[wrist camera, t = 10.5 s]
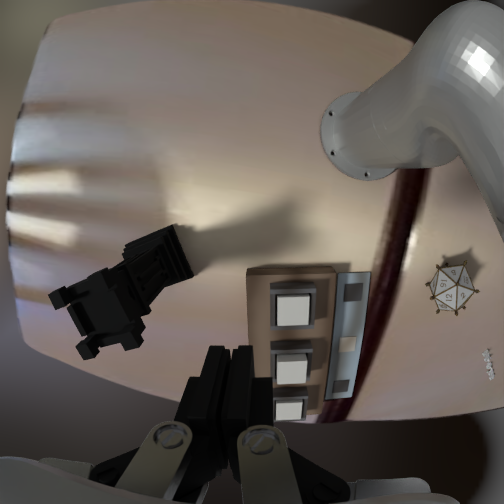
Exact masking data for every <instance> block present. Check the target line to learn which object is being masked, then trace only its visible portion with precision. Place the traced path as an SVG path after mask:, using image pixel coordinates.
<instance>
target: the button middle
mask: <svg viewBox="0 0 504 504" xmlns="http://www.w3.org/2000/svg"><path fill="white" fill-rule="evenodd" d="M306 371H307V357H306V353H286V354H277V384H298V383H306Z"/></svg>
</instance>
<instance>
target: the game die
mask: <svg viewBox="0 0 504 504" xmlns="http://www.w3.org/2000/svg"><path fill="white" fill-rule="evenodd" d="M466 263H467V260H466V261H464V264H463V265H455V266H448V263H446V264H445V265H446V267H442V268H440V267H439V265H437V264H436V268H437V269H438V271H437V273H436V274H435V276H434V278H433V280H432V281H431V283H430V284H429V283H426V284H425V285H426V286H430V289H431V292H432V294H433V296H432V297H430V299H431V300H432V299H434V300H435V302H436V304H437V307H438V310H437V311H436V314H438V313H439V312H440V310H446V311H455V315H456V316H457V315H458V312H457V311H458V310H459V309H460V308H463V309H465V308H466V307H465V306H464V305H465V304H466V302H467V301H468V300H469V299H470V297H471V296H472V295H473V293H474V292H476V293H478V292H480V291H479V290H477V289H476V290H475V289H474V286H473V284H472V281H471V278H470V276H469V274H468V272H467V269H466V267H465V265H466Z"/></svg>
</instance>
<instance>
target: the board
mask: <svg viewBox="0 0 504 504" xmlns="http://www.w3.org/2000/svg"><path fill="white" fill-rule="evenodd" d="M369 281H370V272H353V273H338V277H337V293H336V306H335V318H334V329H333V339H332V348H331V357H330V365H329V373H328V380H327V387H326V394H325V400H326V399H336V398H345V397H352V392H353V388H354V383H355V378H356V373H357V367H358V362H359V356H360V350H361V344H362V338H363V331H364V324H365V316H366V309H367V300H368V291H369ZM335 286H336V272H335V271H334V269H333V268H332V267H301V268H258V269H247V272H246V291H247V315H248V339H249V345H253V354H254V368H255V377H273V413H274V422H286V421H304V420H306V415H312V414H321V412H322V406H323V399H324V393H325V386H326V378H327V370H328V362H329V354H330V345H331V335H332V324H333V313H334V300H335ZM296 293H308V294H309V296H310V298H309V320H308V325H290V326H278V325H277V294H296ZM286 353H306V357H307V371H306V383H298V384H277V354H286ZM295 399H302V412H301V419H295V420H276V400H295Z"/></svg>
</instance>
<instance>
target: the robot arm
mask: <svg viewBox="0 0 504 504" xmlns="http://www.w3.org/2000/svg"><path fill="white" fill-rule="evenodd" d="M329 113H331V114H332V116H330V115H329ZM320 136H321V143H322V146H323V149H324V151H325V153H326V155H327V157H328V159H329V160H330V161H331V162H332V164H333V165H334V166H335V167H336V168H337V169H338V170H340V171H341V172H342V173H344V174H346V175H347V176H350V177H352V178H355V179H359V180H366V181H370V180H378V179H381V178H384V177H386V176H387V175H389V174H391V173H392V172H393V171H394V170H395V169H396V168H432V167H439V166H443V165H445V164H447V163H449V162H451V161H452V160H454V159H455V158H456V157H457V156H458V155H459V156H460V157H461V159H462V160H463V162H464V164H465V166H466V167H467V169H468V171H469V173H470V174H471V176H472V177H473V179H474V180H475V182H476V184H477V186H478V188H479V190H480V192H481V194H482V196H483V198H484V200H485V202H486V205H487V207H488V209H489V211H490V213H491V216H492V218H493V220H494V222H495V224H496V227H497V229H498V231H499V234H500V236H501V238H502V240H503V242H504V10H502V9H501V8H499V7H497V6H495V5H493V4H491V3H488V2H484V1H476V0H471V1H465V2H460V3H458V4H456V5H454V6H451V7H450V8H448V9H447V10H446V11H444V12H443V13H441V14H440V15H439V16H438V17H437V18H436V19H435V20H434V21H433V22H432V23H431V24H430V25H429V26H428V27H427V28H426V30H425V31H424V32H423V34H422V36H421V37H420V38H419V40H418V41H417V43H416V44H415V45H414V47H413V48H412V50H411V51H410V52H409V54H408V55H407V56H406V57H405V58H404V59H403V60H402V61H401V62H400V63H399V64H397V65H396V66H395V67H394V68H393V69H392V70H390V71H389V72H388V73H387V74H385V75H384V76H383V77H381V78H380V79H379V80H378V81H376V82H375V83H374V84H372V85H371V86H370V87H369V88H367V89H366V90H365V91H364V92H351V93H347V94H344V95H342V96H340V97H339V98H337V99H335V100H334V101H333V102H332V103H331V104H330V105H329V107H328V108H327V109H326V111H325V113H324V115H323V117H322V121H321V126H320ZM331 152H333V153H334V155H331ZM365 173H366V174H367V176H365V175H364V174H365ZM228 459H229V463H230V467H231V469H232V472H233V476H234V479H235V480H236V481H237V482H239V483H240V484H241V487H242V495H243V504H460V503H459V502H458V501H456V500H455V499H453V498H451V497H449V496H445V495H441V494H434V493H431V492H430V488H429V485H428V484H427V483H426V482H425V481H424V480H421V479H419V478H402V479H385V480H357V482H354V483H353V482H345V481H344V480H343V479H341V478H339V477H337V476H336V475H334V474H332V473H330V472H328V471H326V470H325V469H323V468H321V467H319V466H318V465H316V464H314V463H313V462H311V461H309V460H307V459H306V458H304V457H302V456H301V455H299V454H297V453H296V452H294V451H293V450H291V449H290V448H288V447H287V444H286V441H285V437H284V435H283V433H282V432H281V431H280V430H279V429H277V428H275V427H274V413H273V377H255V368H254V354H253V345H240V346H238V349H233V353H232V358H231V356H230V350H229V349H225V347H224V346H210V347H209V349H208V353H207V356H206V359H205V362H204V365H203V368H202V371H201V375H200V377H189V379H188V382H187V385H186V388H185V390H184V393H183V396H182V399H181V402H180V404H179V407H178V410H177V413H176V416H175V419H174V421H168V422H163V423H160V424H158V425H157V426H155V427H154V428H153V429H152V430H151V431H150V433H149V434H148V436H147V437H146V439H145V441H144V442H143V444H142V445H141V447H139V448H136V449H134V450H132V451H129V452H127V453H125V454H122V455H120V456H117V457H115V458H112V459H110V460H107V461H105V462H102V463H100V464H98V465H96V466H93V465H92V464H91V463H83V462H75V461H67V460H60V459H54V458H45V459H41V460H40V461H39V462H38V461H34V460H30V459H26V458H20V457H0V504H202V501H203V499H204V496H205V494H206V491H207V489H208V484H209V483H208V482H209V481H210V480H212V479H214V478H215V477H216V476H221V471H222V469H227V466H228Z"/></svg>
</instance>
